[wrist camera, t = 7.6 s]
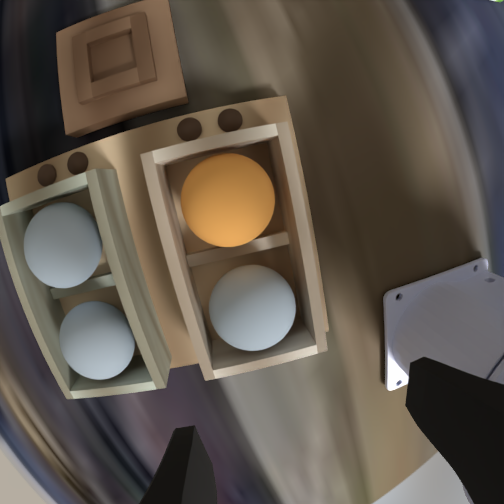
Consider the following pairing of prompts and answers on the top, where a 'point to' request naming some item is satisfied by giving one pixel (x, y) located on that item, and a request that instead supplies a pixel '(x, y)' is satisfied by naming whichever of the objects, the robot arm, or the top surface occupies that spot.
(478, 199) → the top surface
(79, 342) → the slate ball
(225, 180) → the ball orange
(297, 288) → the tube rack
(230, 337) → the slate ball
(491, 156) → the top surface
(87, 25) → the stand
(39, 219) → the slate ball
